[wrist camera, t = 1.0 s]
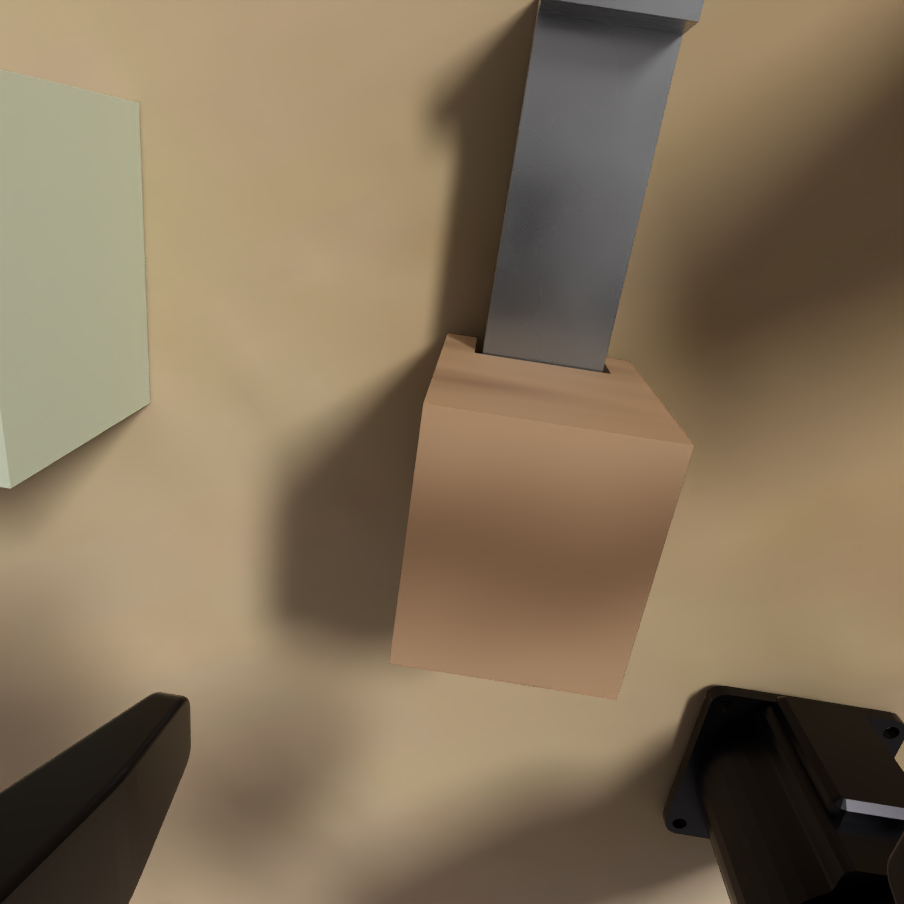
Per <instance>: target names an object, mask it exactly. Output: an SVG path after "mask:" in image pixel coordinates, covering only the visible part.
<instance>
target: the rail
mask: <svg viewBox="0 0 904 904" xmlns="http://www.w3.org/2000/svg"><path fill="white" fill-rule="evenodd" d="M703 2H704V0H539V2H538V8H537V14H536V20H535V26H534V33H533V39H532V45H531V51H530V57H529V64H528V70H527V76H526V82H525V88H524V94H523V101H522V107H521V113H520V119H519V125H518V132H517V138H516V144H515V150H514V156H513V162H512V169H511V175H510V181H509V187H508V193H507V200H506V206H505V212H504V218H503V224H502V230H501V237H500V243H499V249H498V255H497V261H496V268H495V274H494V280H493V286H492V292H491V298H490V305H489V311H488V317H487V323H486V329H485V335H484V342H483V348H482V354H485V355H492V356H498V357H504V358H511V359H517V360H524V361H530V362H537V363H543V364H550V365H556V366H562V367H569V368H575V369H582V370H588V371H595V372H601V373H602V372H603V368H604V364H605V360H606V355H607V351H608V347H609V343H610V339H611V334H612V330H613V326H614V322H615V317H616V313H617V309H618V305H619V300H620V296H621V292H622V288H623V284H624V279H625V275H626V271H627V267H628V262H629V258H630V254H631V250H632V246H633V241H634V237H635V233H636V229H637V224H638V220H639V216H640V212H641V207H642V203H643V199H644V195H645V191H646V186H647V182H648V178H649V174H650V169H651V165H652V161H653V157H654V152H655V148H656V144H657V140H658V136H659V131H660V127H661V123H662V119H663V114H664V110H665V106H666V102H667V98H668V93H669V89H670V85H671V81H672V76H673V72H674V68H675V64H676V59H677V55H678V51H679V47H680V43H681V38H682V35H683V34H684V33H686V32H687V31H688V30H689V29H690V28H692V27H693V26H694V25H695V24H696V23H698V22H699V19H700V15H701V10H702V6H703Z"/></svg>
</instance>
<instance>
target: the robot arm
mask: <svg viewBox="0 0 904 904" xmlns="http://www.w3.org/2000/svg"><path fill="white" fill-rule="evenodd" d="M727 700H728V701H727ZM722 701H727V702H725V703H723V704H719V703H720V702H722ZM889 727H890V728H889ZM887 728H888V729H887ZM903 741H904V723H903V721H902V720H901V719H900V718H899V717H898V716H897V715H896V714H894V713H891V712H886V711H879V710H873V709H867V708H860V707H854V706H848V705H841V704H835V703H829V702H823V701H816V700H810V699H804V698H797V697H791V696H785V695H778V694H772V693H766V692H759V691H753V690H747V689H741V688H734V687H728V686H719V687H715V688H713V689H712V690H710V691H709V692H708V694H707V695H706V698H705V701H704V704H703V706H702V709H701V712H700V714H699V717H698V720H697V722H696V725H695V728H694V730H693V733H692V736H691V738H690V741H689V744H688V747H687V749H686V752H685V755H684V757H683V760H682V763H681V765H680V768H679V771H678V773H677V776H676V779H675V782H674V784H673V787H672V790H671V792H670V795H669V798H668V800H667V803H666V806H665V808H664V811H663V817H664V821H665V825H666V827H667V829H668V830H669V831H671V832H674V833H678V834H684V835H690V836H696V837H702V838H709V839H710V841H711V844H712V847H713V850H714V853H715V856H716V859H717V862H718V865H719V869H720V872H721V875H722V878H723V881H724V884H725V887H726V890H727V893H728V896H729V899H730V902H731V904H904V772H903V770H902V769H901V768H900V766H899V765H898V763H897V762H896V760H895V759H894V757H895V756H896V754H897V752H898V750H899V748H900V746H901V744H902V743H903ZM190 749H191V725H190V703H189V700H188V699H187V698H186V697H184V696H180V695H174V694H168V693H162V692H157V693H154V694H151V695H149V696H148V697H146V698H145V699H143V700H141V701H140V702H138V703H137V704H135V705H134V706H132V707H131V708H129V709H128V710H126V711H125V712H123V713H122V714H120V715H119V716H117V717H115V718H114V719H112V720H111V721H109V722H108V723H106V724H105V725H103V726H102V727H100V728H99V729H97V730H96V731H94V732H92V733H91V734H89V735H88V736H86V737H85V738H83V739H82V740H80V741H79V742H77V743H76V744H74V745H73V746H71V747H69V748H68V749H66V750H65V751H63V752H62V753H60V754H59V755H57V756H56V757H54V758H53V759H51V760H50V761H48V762H46V763H45V764H43V765H42V766H40V767H39V768H37V769H36V770H34V771H33V772H31V773H30V774H28V775H27V776H25V777H24V778H22V779H20V780H19V781H17V782H16V783H14V784H13V785H11V786H10V787H8V788H7V789H5V790H4V791H2V792H1V793H0V904H128V903H129V901H130V899H131V897H132V895H133V893H134V891H135V889H136V886H137V884H138V882H139V879H140V877H141V875H142V872H143V870H144V867H145V865H146V863H147V860H148V858H149V855H150V853H151V850H152V848H153V846H154V843H155V841H156V838H157V836H158V833H159V831H160V829H161V826H162V824H163V821H164V819H165V816H166V814H167V812H168V809H169V807H170V804H171V802H172V799H173V797H174V795H175V792H176V790H177V787H178V785H179V782H180V780H181V778H182V775H183V773H184V770H185V768H186V765H187V762H188V759H189V755H190Z"/></svg>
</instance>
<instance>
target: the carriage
mask: <svg viewBox="0 0 904 904" xmlns="http://www.w3.org/2000/svg"><path fill="white" fill-rule="evenodd" d="M476 340H477V337H470V336H464V335H458V334H451V333H448V334H447V337H446V340H445V343H444V345H443V348H442V351H441V354H440V357H439V360H438V363H437V365H436V368H435V371H434V374H433V377H432V380H431V383H430V386H429V388H428V391H427V394H426V397H425V400H424V403H423V409H422V417H421V425H420V432H419V440H418V448H417V455H416V463H415V470H414V478H413V486H412V493H411V501H410V509H409V516H408V524H407V532H406V539H405V547H404V554H403V562H402V570H401V577H400V585H399V593H398V600H397V608H396V616H395V623H394V631H393V638H392V646H391V654H390V661H389V664H395V665H401V666H407V667H414V668H420V669H426V670H433V671H439V672H445V673H451V674H458V675H464V676H470V677H477V678H483V679H489V680H495V681H502V682H508V683H514V684H521V685H527V686H533V687H540V688H546V689H552V690H558V691H565V692H571V693H577V694H584V695H590V696H596V697H603V698H609V699H615V700H617V697H618V694H619V691H620V688H621V684H622V681H623V678H624V674H625V671H626V668H627V665H628V661H629V658H630V655H631V652H632V648H633V645H634V642H635V638H636V635H637V632H638V629H639V625H640V622H641V619H642V616H643V612H644V609H645V606H646V602H647V599H648V596H649V593H650V589H651V586H652V583H653V580H654V576H655V573H656V570H657V566H658V563H659V560H660V557H661V553H662V550H663V547H664V544H665V540H666V537H667V534H668V530H669V527H670V524H671V521H672V517H673V514H674V511H675V508H676V504H677V501H678V498H679V494H680V491H681V488H682V485H683V481H684V478H685V475H686V472H687V468H688V465H689V462H690V458H691V455H692V452H693V449H694V444H693V443H692V442H691V441H690V439H689V438H688V437H687V435H686V434H685V433H684V431H683V430H682V429H681V427H680V426H679V425H678V424H677V422H676V421H675V420H674V418H673V417H672V416H671V414H670V413H669V412H668V410H667V409H666V408H665V407H664V405H663V404H662V403H661V401H660V400H659V399H658V397H657V396H656V395H655V393H654V392H653V391H652V390H651V388H650V387H649V386H648V384H647V383H646V382H645V380H644V379H643V378H642V376H641V375H640V374H639V373H638V371H637V370H636V369H635V367H634V366H633V365H632V363H631V362H630V361H625V360H619V359H612V358H606V360H605V364H604V368H603V372H602V373H601V372H595V371H588V370H582V369H575V368H569V367H562V366H556V365H550V364H543V363H537V362H530V361H524V360H517V359H511V358H504V357H498V356H492V355H485V354H479V353H475V347H476Z"/></svg>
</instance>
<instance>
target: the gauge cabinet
mask: <svg viewBox="0 0 904 904" xmlns="http://www.w3.org/2000/svg"><path fill="white" fill-rule="evenodd" d="M149 403H150V389H149V361H148V334H147V307H146V280H145V253H144V226H143V199H142V172H141V145H140V118H139V102H135V101H131V100H127V99H123V98H118V97H114V96H110V95H106V94H102V93H98V92H93V91H89V90H85V89H81V88H77V87H73V86H69V85H64V84H60V83H56V82H52V81H48V80H44V79H39V78H35V77H31V76H27V75H23V74H19V73H14V72H10V71H6V70H2V69H0V487H3V488H10V489H11V488H13V487H14V486H16V485H18V484H19V483H21V482H22V481H24V480H26V479H27V478H29V477H31V476H32V475H34V474H35V473H37V472H39V471H40V470H42V469H44V468H45V467H47V466H48V465H50V464H52V463H53V462H55V461H57V460H58V459H60V458H61V457H63V456H65V455H66V454H68V453H70V452H71V451H73V450H74V449H76V448H78V447H79V446H81V445H83V444H84V443H86V442H87V441H89V440H91V439H92V438H94V437H96V436H97V435H99V434H100V433H102V432H104V431H105V430H107V429H109V428H110V427H112V426H113V425H115V424H117V423H118V422H120V421H122V420H123V419H125V418H126V417H128V416H130V415H131V414H133V413H135V412H136V411H138V410H139V409H141V408H143V407H144V406H146V405H148V404H149Z"/></svg>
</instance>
